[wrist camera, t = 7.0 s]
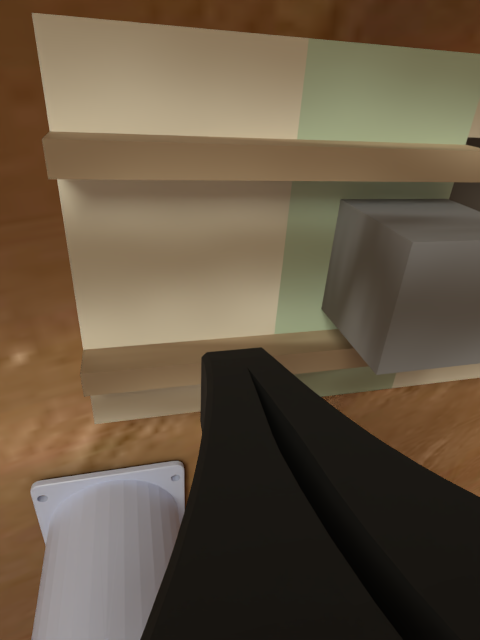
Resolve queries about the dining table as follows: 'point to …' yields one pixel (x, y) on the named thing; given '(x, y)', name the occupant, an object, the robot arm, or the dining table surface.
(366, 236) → the charcoal block
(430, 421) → the dining table surface
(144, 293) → the railed deck
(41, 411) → the dining table surface
